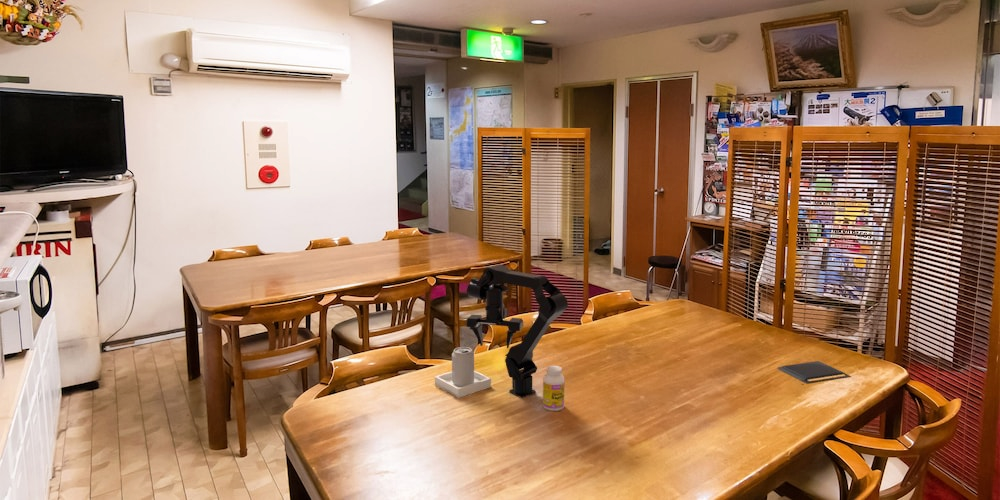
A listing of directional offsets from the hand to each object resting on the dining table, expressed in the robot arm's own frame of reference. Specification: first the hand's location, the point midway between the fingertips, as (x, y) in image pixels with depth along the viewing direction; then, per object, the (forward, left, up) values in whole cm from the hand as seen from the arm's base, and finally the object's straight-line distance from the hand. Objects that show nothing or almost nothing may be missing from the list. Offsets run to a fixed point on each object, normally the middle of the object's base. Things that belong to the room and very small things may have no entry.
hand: (494, 346), depth 209 cm
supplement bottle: (-26, -2, -13) cm, 30 cm away
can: (+5, +10, -12) cm, 16 cm away
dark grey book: (-66, -93, -14) cm, 115 cm away
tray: (+5, +10, -13) cm, 17 cm away
